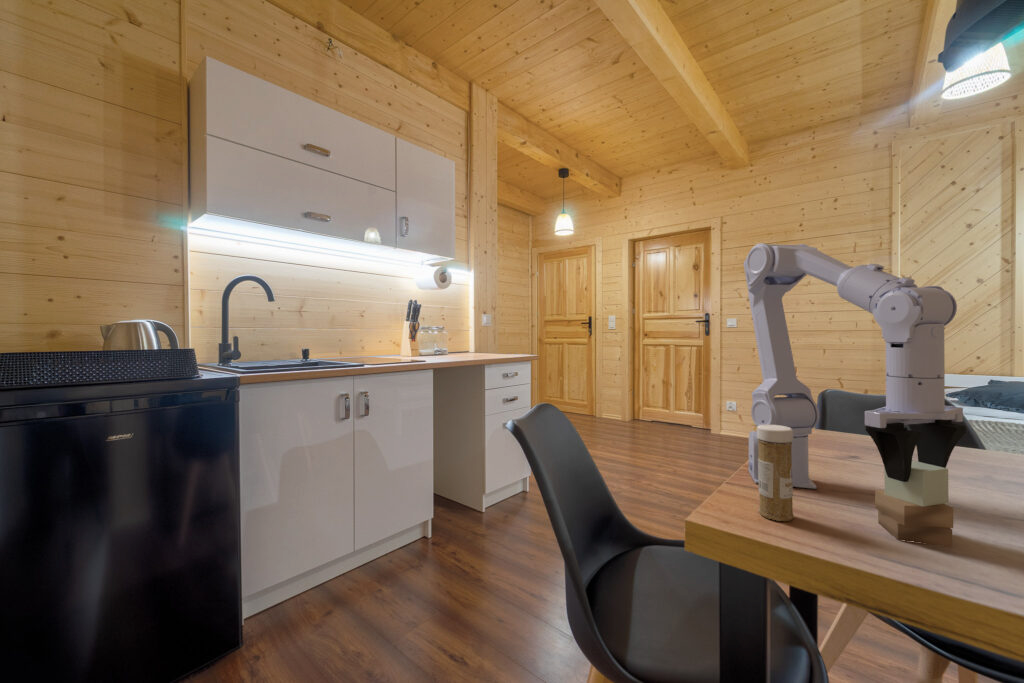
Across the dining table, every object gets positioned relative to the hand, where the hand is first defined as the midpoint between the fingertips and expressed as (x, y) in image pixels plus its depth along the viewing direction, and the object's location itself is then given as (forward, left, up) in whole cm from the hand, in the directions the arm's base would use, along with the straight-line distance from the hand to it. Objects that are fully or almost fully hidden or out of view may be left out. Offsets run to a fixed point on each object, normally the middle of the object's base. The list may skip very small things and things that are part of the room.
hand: (914, 477), depth 57 cm
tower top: (0, 0, -6) cm, 6 cm away
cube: (0, 0, -3) cm, 3 cm away
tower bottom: (0, 0, -8) cm, 8 cm away
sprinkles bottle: (-16, +1, -8) cm, 18 cm away
